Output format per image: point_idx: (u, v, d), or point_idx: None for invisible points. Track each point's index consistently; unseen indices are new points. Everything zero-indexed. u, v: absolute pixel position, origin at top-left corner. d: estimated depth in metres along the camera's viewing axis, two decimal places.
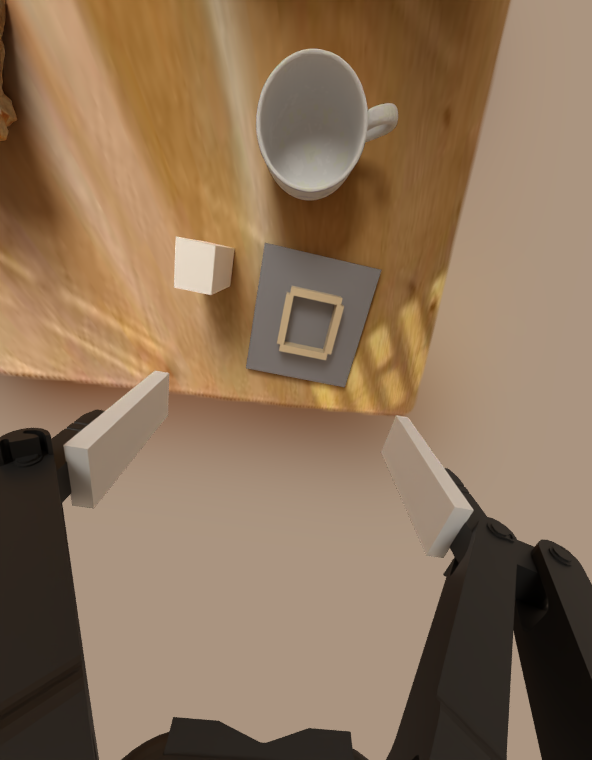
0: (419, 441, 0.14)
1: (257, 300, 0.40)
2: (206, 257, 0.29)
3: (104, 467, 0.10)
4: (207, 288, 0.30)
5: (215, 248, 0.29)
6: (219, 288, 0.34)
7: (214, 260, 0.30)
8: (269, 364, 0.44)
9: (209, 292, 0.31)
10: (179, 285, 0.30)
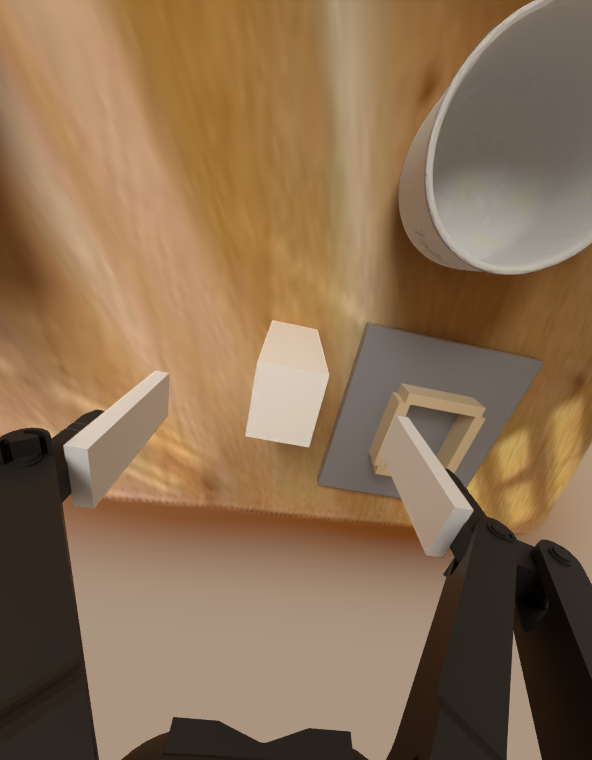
0: (419, 441, 0.14)
1: (346, 402, 0.26)
2: (309, 393, 0.16)
3: (104, 467, 0.10)
4: (304, 438, 0.17)
5: None
6: None
7: None
8: (352, 480, 0.30)
9: (306, 443, 0.17)
10: (255, 433, 0.17)
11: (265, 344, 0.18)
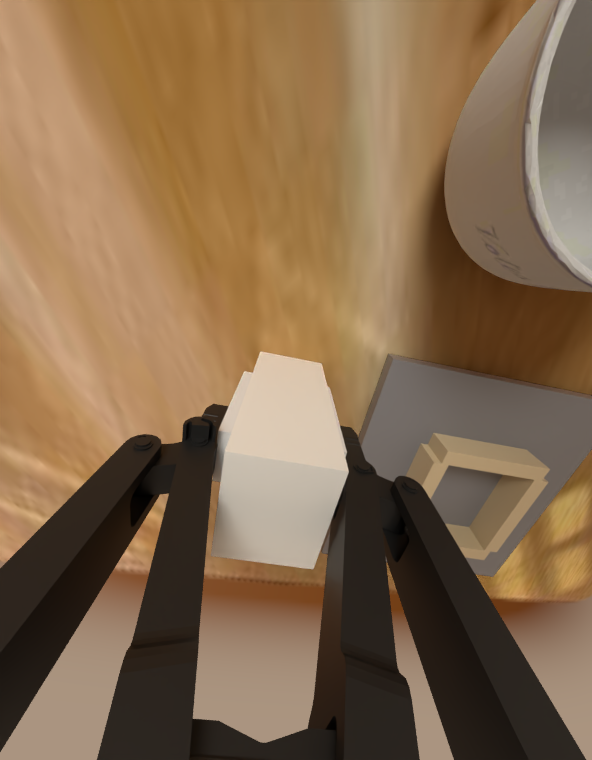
0: None
1: None
2: (315, 497, 0.10)
3: None
4: (305, 557, 0.11)
5: None
6: None
7: None
8: None
9: (309, 564, 0.11)
10: (226, 552, 0.11)
11: (244, 404, 0.12)
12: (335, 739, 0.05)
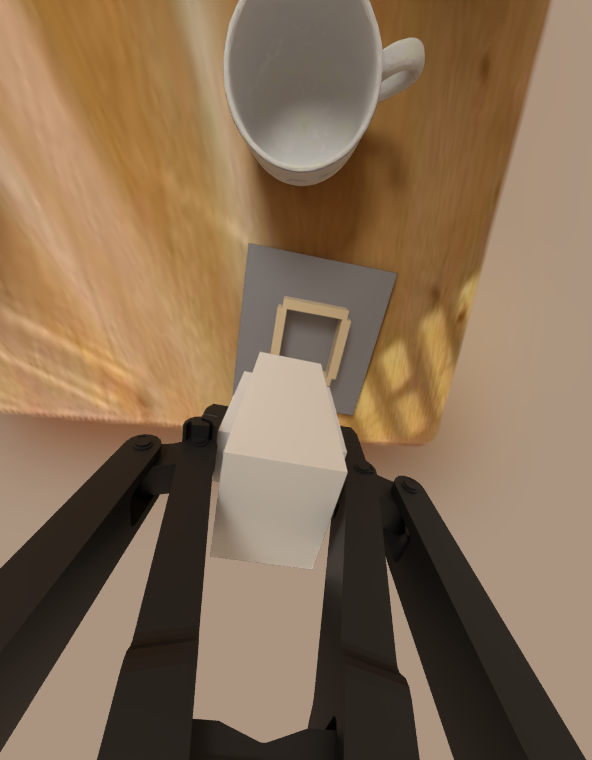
0: None
1: (242, 315, 0.32)
2: (313, 498, 0.10)
3: None
4: (304, 558, 0.11)
5: None
6: None
7: None
8: None
9: (308, 565, 0.11)
10: (225, 553, 0.11)
11: (243, 404, 0.12)
12: (335, 739, 0.05)
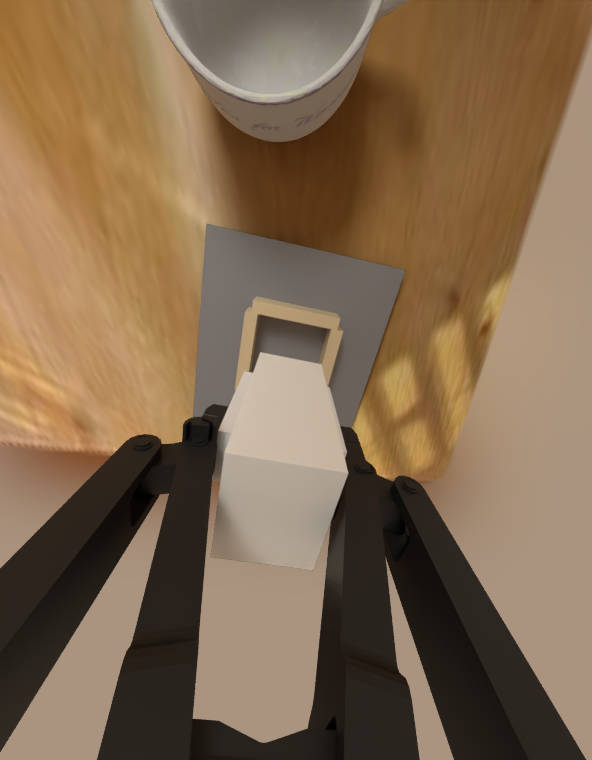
0: None
1: (201, 320, 0.24)
2: (314, 499, 0.10)
3: None
4: (305, 558, 0.11)
5: None
6: None
7: None
8: None
9: (309, 566, 0.11)
10: (226, 554, 0.11)
11: (244, 405, 0.12)
12: (335, 739, 0.05)
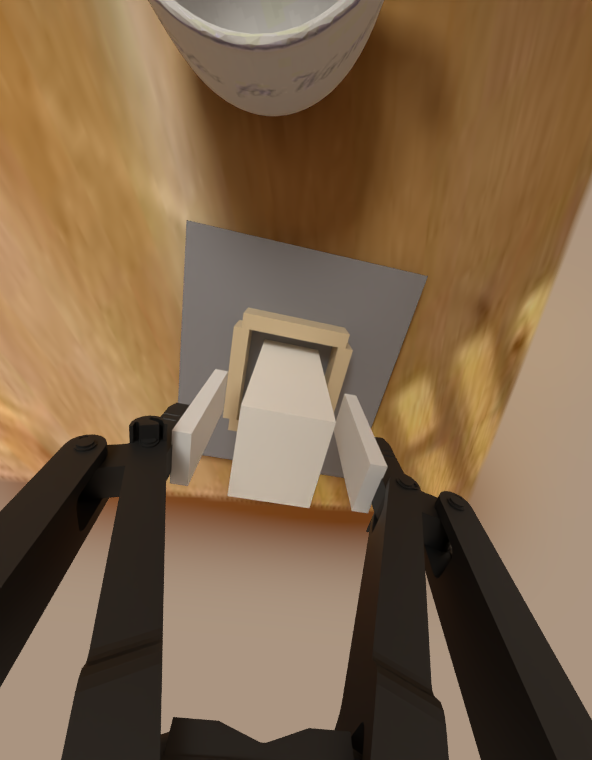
0: (358, 414, 0.15)
1: (183, 335, 0.20)
2: (310, 444, 0.12)
3: (195, 451, 0.12)
4: (303, 497, 0.13)
5: None
6: None
7: None
8: (217, 444, 0.24)
9: (306, 504, 0.14)
10: (240, 493, 0.13)
11: (253, 376, 0.14)
12: (335, 739, 0.05)
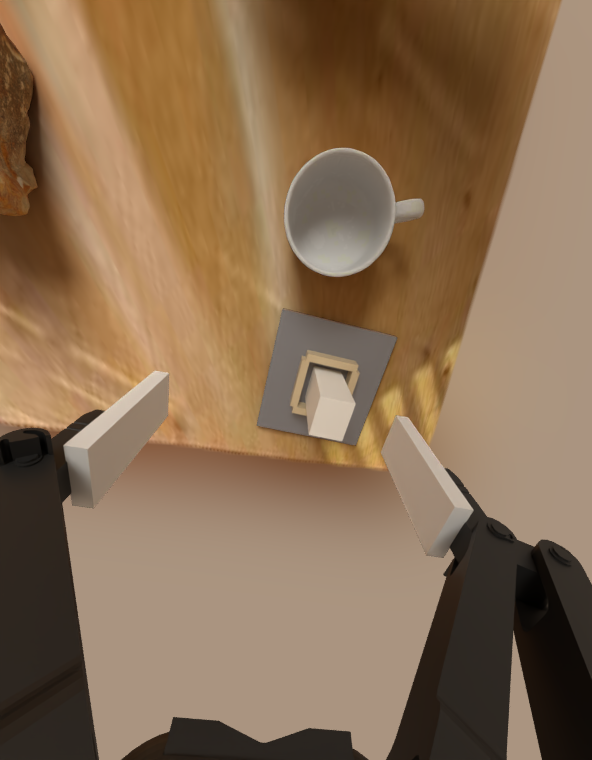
0: (419, 441, 0.14)
1: (271, 362, 0.39)
2: (345, 412, 0.31)
3: (104, 467, 0.10)
4: (339, 436, 0.32)
5: None
6: None
7: None
8: (280, 422, 0.43)
9: (341, 439, 0.32)
10: (314, 433, 0.32)
11: (318, 385, 0.33)
12: (335, 739, 0.05)
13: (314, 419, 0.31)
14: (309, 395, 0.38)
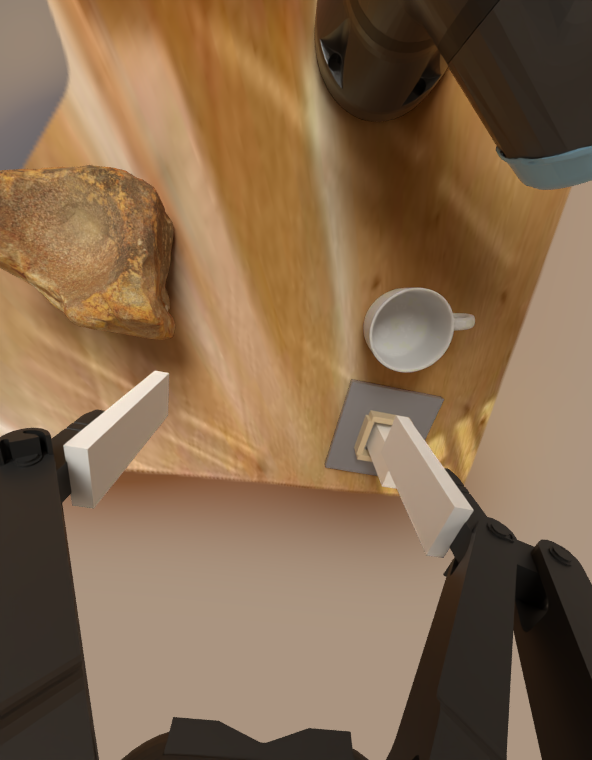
0: (419, 441, 0.14)
1: (341, 420, 0.49)
2: None
3: (104, 467, 0.10)
4: None
5: None
6: None
7: None
8: (345, 464, 0.53)
9: None
10: (386, 485, 0.42)
11: None
12: (335, 739, 0.05)
13: (387, 475, 0.41)
14: (374, 448, 0.47)
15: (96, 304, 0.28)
